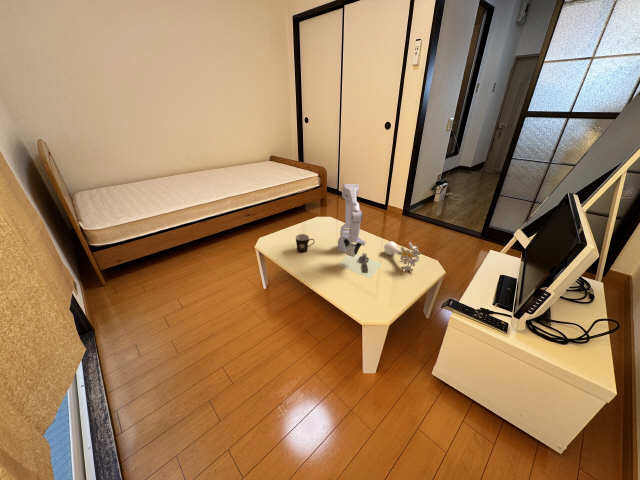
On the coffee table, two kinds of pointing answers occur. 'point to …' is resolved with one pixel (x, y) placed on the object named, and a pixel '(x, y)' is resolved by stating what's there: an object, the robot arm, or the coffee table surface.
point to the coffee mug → (302, 243)
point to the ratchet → (364, 262)
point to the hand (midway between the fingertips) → (351, 252)
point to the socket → (351, 250)
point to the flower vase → (403, 253)
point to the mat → (360, 265)
